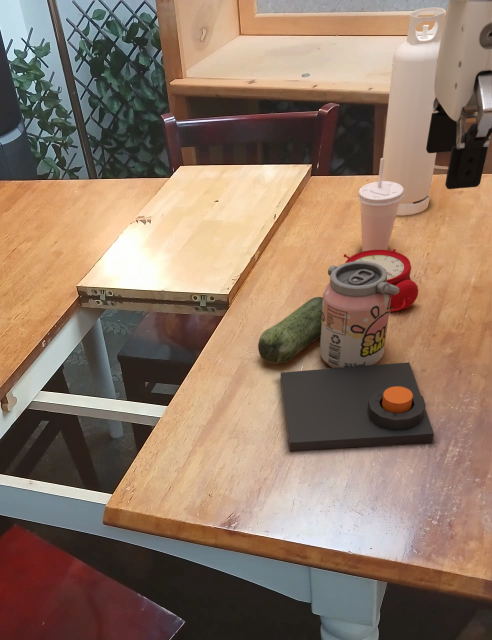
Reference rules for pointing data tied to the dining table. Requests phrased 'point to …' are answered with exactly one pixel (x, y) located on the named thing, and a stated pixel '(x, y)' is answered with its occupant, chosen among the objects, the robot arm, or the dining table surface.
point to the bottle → (412, 112)
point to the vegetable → (292, 333)
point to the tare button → (397, 399)
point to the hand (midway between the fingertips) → (451, 168)
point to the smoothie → (378, 211)
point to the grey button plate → (351, 408)
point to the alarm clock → (392, 274)
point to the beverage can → (355, 314)
